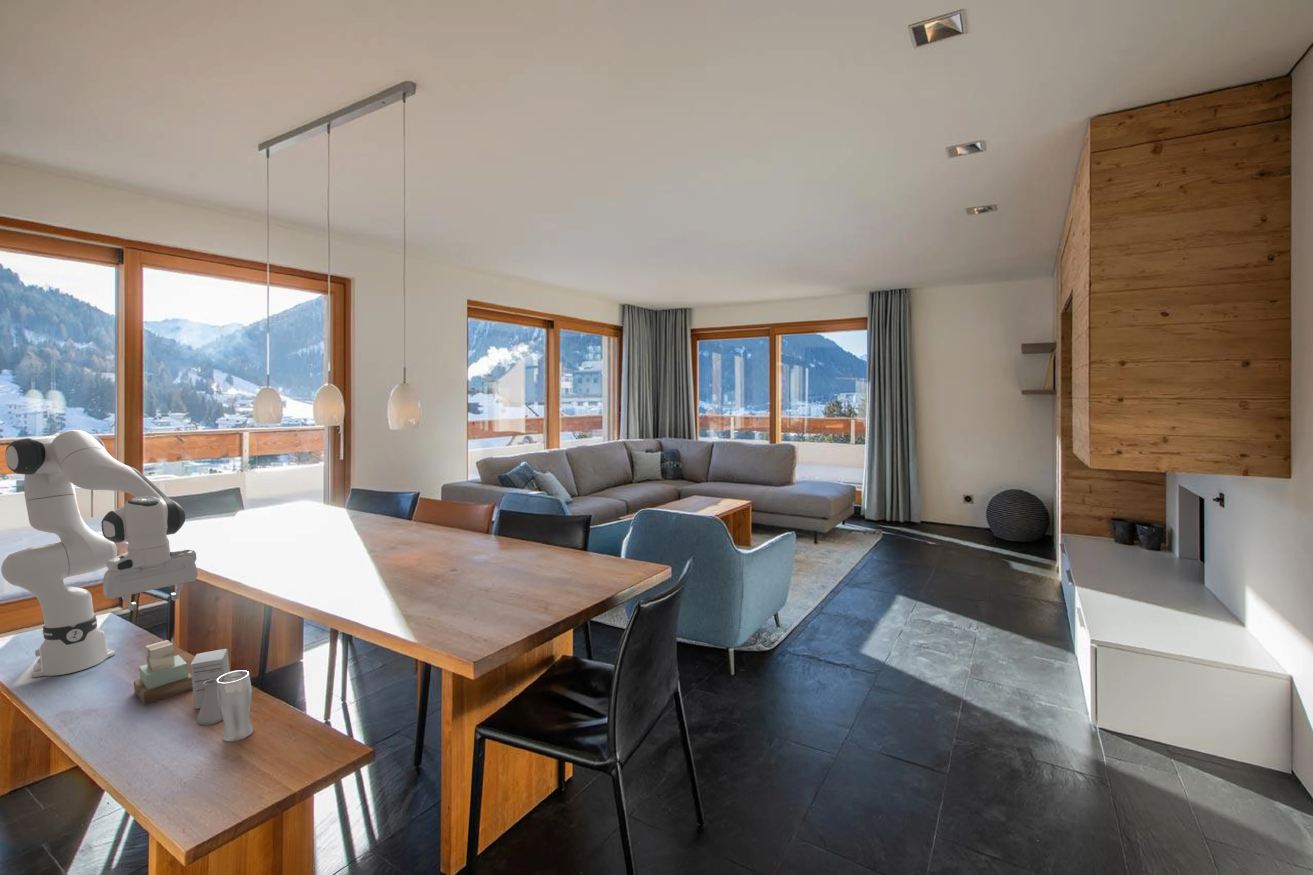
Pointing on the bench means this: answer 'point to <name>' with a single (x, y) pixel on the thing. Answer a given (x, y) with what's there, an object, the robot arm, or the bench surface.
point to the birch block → (160, 655)
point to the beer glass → (235, 704)
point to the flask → (209, 705)
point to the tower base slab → (162, 690)
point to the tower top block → (163, 674)
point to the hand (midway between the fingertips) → (154, 604)
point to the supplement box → (207, 671)
